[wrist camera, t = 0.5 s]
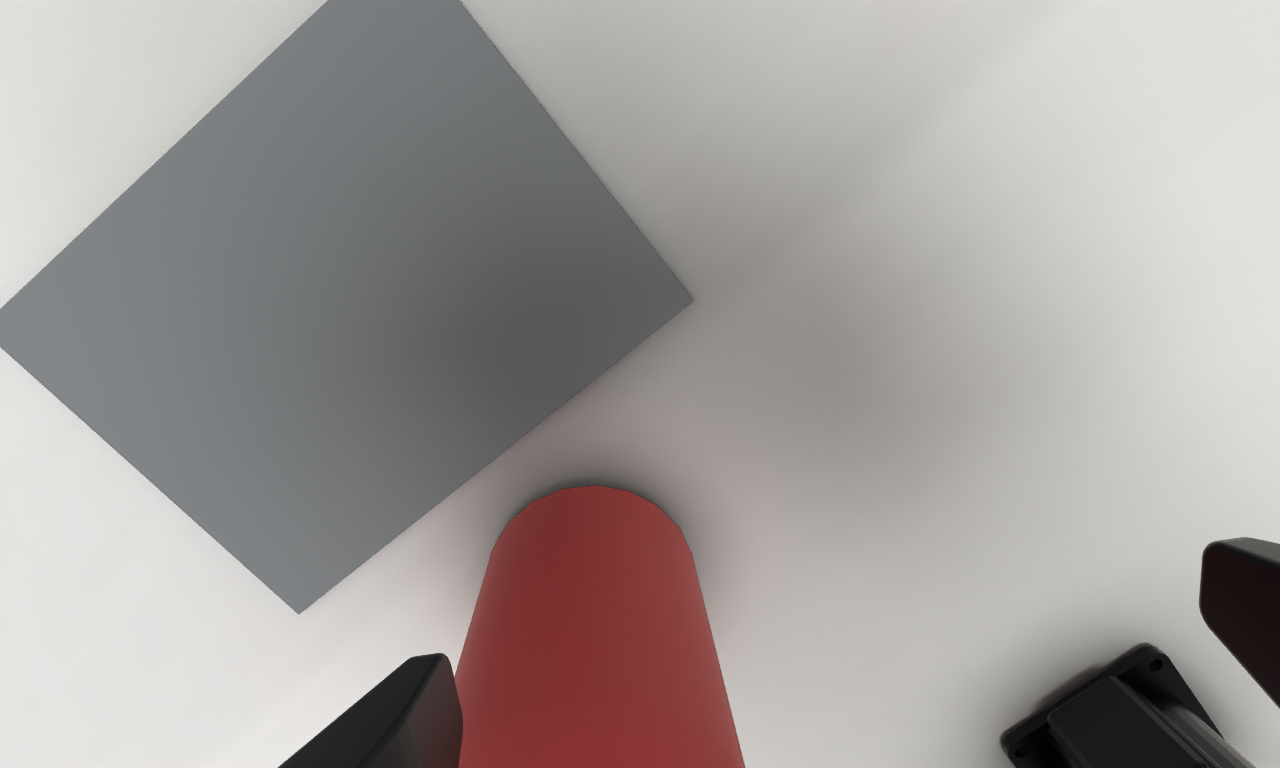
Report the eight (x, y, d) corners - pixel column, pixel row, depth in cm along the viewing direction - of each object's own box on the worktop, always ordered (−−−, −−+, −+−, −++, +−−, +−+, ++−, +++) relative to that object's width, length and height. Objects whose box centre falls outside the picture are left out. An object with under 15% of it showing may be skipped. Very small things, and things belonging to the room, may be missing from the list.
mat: (692, 298, 21) (693, 300, 21) (302, 609, 23) (298, 614, 23) (406, -66, 18) (403, -71, 18) (-12, 326, 20) (-21, 328, 20)
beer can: (490, 655, 24) (386, 1097, 12) (490, 473, 22) (368, 789, 10) (685, 658, 24) (762, 1087, 13) (699, 480, 22) (804, 788, 11)
